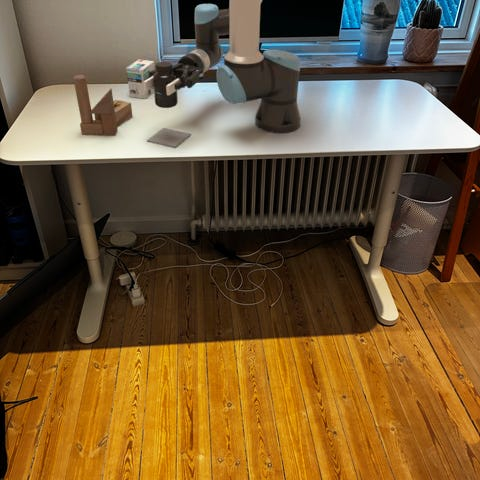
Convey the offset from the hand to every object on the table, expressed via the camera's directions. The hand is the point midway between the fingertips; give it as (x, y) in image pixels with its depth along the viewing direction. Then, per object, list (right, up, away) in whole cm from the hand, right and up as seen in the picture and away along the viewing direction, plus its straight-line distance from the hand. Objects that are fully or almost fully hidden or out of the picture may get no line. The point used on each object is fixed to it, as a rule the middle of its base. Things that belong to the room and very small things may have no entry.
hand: (156, 88), depth 143 cm
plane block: (-18, -4, +23) cm, 30 cm away
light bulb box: (-12, +12, +45) cm, 48 cm away
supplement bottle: (+2, -3, +8) cm, 8 cm away
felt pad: (+2, -11, +14) cm, 18 cm away
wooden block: (-21, -9, +17) cm, 28 cm away
